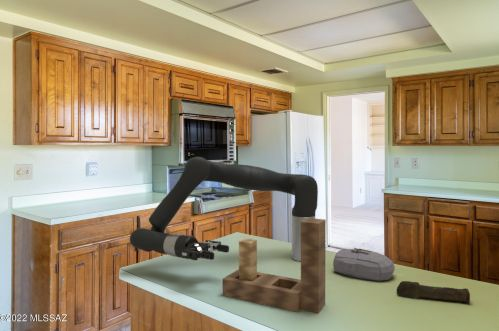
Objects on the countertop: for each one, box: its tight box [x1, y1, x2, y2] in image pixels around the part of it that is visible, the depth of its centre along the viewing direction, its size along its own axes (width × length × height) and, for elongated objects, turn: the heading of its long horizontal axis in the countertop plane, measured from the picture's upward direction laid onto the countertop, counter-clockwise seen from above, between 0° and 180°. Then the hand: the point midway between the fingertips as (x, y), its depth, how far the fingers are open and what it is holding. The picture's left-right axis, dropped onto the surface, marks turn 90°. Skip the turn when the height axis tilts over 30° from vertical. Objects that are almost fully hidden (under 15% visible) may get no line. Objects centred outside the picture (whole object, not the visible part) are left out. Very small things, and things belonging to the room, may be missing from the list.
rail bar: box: [238, 238, 258, 282], centre depth 108 cm, size 4×4×15 cm
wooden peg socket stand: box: [222, 218, 327, 314], centre depth 104 cm, size 29×10×24 cm, turn 61°
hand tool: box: [396, 280, 471, 305], centre depth 104 cm, size 19×4×5 cm, turn 72°
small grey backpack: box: [332, 247, 396, 282], centre depth 125 cm, size 15×8×20 cm
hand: (221, 252), depth 113 cm, fingers open, 8 cm apart
